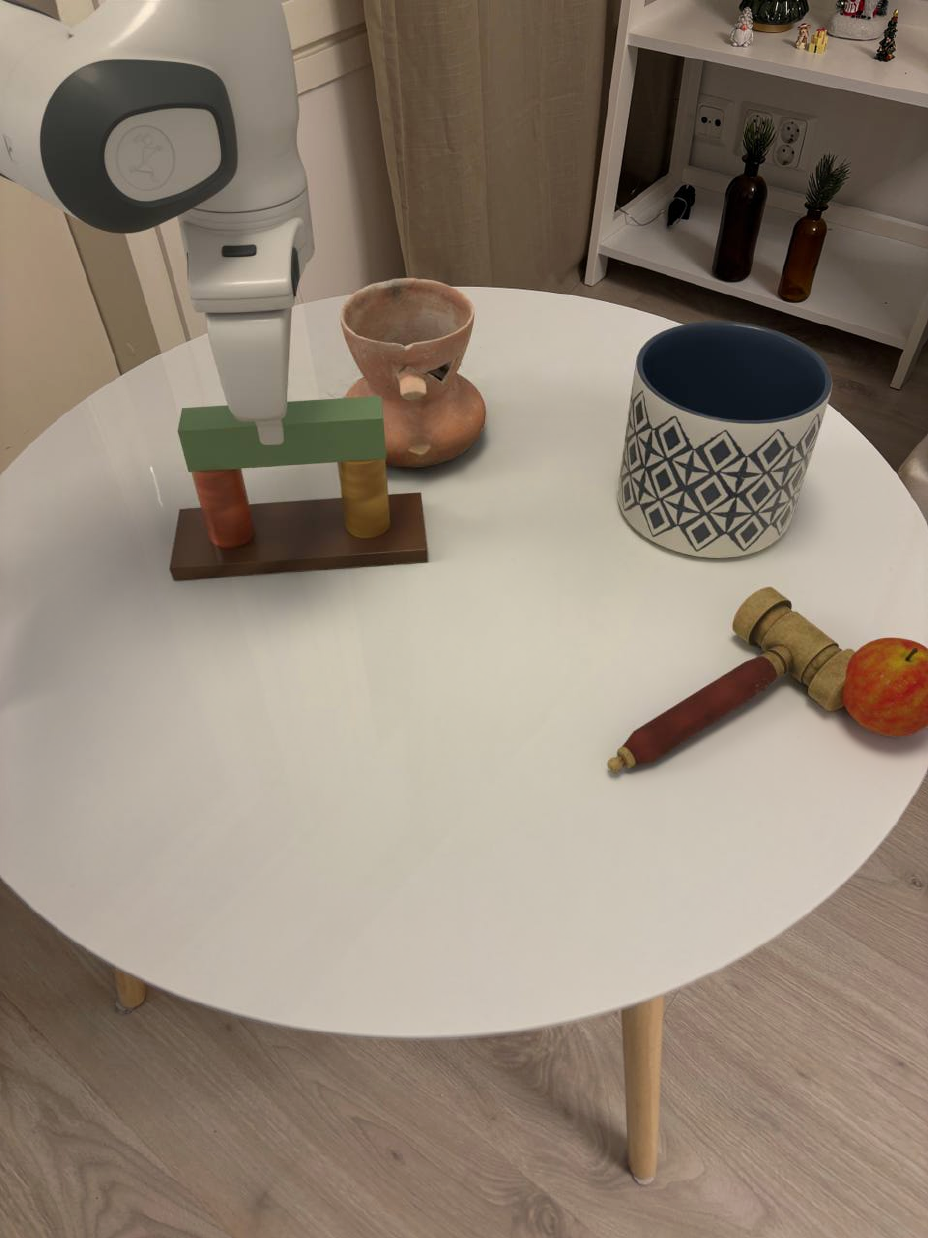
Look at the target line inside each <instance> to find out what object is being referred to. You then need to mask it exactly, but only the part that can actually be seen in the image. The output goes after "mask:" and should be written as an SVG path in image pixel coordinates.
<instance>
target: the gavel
mask: <svg viewBox="0 0 928 1238" xmlns="http://www.w3.org/2000/svg"><path fill="white" fill-rule="evenodd" d="M792 607H793V603H792V601H791V600H789V599H788V598H787V597H786V596H784V595H783V594H782V593H780V592H779V591H778V590H776V589H775V588H774V587H772V586H766V587H763V588H760V589H758V590H756V591H755V592H753V593H752V594H751V595H749V596H748V597H747V598H746V599H745V601H743V602H742V603H741V605H740V606H739V607H738V610H737V611H736V613H735V615H734V616H733V620H732V624H731V625H732V626H731V629H732V631H733V632H734V633H735V634H736V635H737V636H738V637H740V638H741V639H742V640H743V641H745V642H746V643H747V645H749V646H750V647H758V646H760V647H761V650H762V651H763V652H764V653H762V654H760V655H759V656H757V657H754V658H751V659H749V660H746V661H744V662H743V663H741V664H739V665H738V666H736V667H734V668H733V669H731V670H730V671H728V672H726V673H724V674H723V675H721V676H720V677H718V678H717V679H715V680H713V681H712V682H710V683H709V684H707V685H706V686H704V687H702V688H701V689H699V690H698V691H696V692H694V693H693V694H691V695H689V696H688V697H686V698H685V699H683V700H682V701H680V702H678V703H676V704H675V705H673V706H672V707H670V708H668V709H667V710H665V711H664V712H662V713H661V714H659V715H657V716H656V717H654V718H653V719H651V720H649V721H648V722H646V723H644V724H643V725H642V726H640V727H638V728H637V729H634V730H633V731H632V733H631V734H630V735H629V737H628V738H627V739H626V740H625V742H624V743H623V744H622V745H621V747H619V748H617V751H616V756H613V757H611V758H609V760H608V761H607V764H606V766H607V767H608V769H609V770H610V772H612V773H617V772H619V771H621V770H622V768H623V767H624V768H626V769H631V768H633V767H635V766H640V765H644V764H650V763H653V762H655V761H658V760H659V759H660V758H662V757H663V756H665V755H667V754H668V753H669V752H671V751H672V750H674V749H676V748H677V747H679V746H680V745H682V744H683V743H686V742H687V741H688V740H690V739H691V738H693V737H694V736H696V735H697V734H699V733H700V732H701V733H702V731H704V730H705V729H707V728H708V727H710V726H711V725H713V724H715V723H716V722H717V721H719V720H721V719H722V718H724V717H725V716H727V715H729V714H730V713H732V712H733V711H735V710H736V709H738V708H740V707H742V706H743V705H744V704H746V703H747V702H749V701H750V700H752V699H753V698H755V697H756V696H758V695H759V694H762V692H764V691H766V689H768V688H769V686H771V685H772V684H773V682H776V680H778V679H779V678H781V677H782V676H784V675H786V674H788V673H789V674H790V675H791V676H792V677H793V678H795V679H796V681H798V682H800V683H801V684H802V685H803V684H804V685H806V686H807V687H808V689H807V694H808V696H810V698H812V699H813V700H814V701H815V702H817V703H818V704H819V705H820V706H821V707H822V708H823V709H825V710H826V711H828V712H834V711H838V710H841V709H842V708H845V705H844V703H843V700H842V696H841V692H842V688H843V686H844V682H845V678H846V670H847V666H848V663H849V660H850V658H851V657H852V655H853V654H854V653H855V652H856V651H855V650H853V649H852V648H846V649H841V648H840V645H839V644H838V643H837V642H836V641H835V640H834V639H832V638H831V637H830V636H828V634H826V633H825V632H824V631H822V630H821V629H820V628H818V627H817V626H816V625H815V624H813V623H812V622H811V621H809V620H808V619H807V618H805V616H803V615H802V614H801V613H800V612H798V611H795V610H794V611H793V610H792V609H793V608H792Z"/></svg>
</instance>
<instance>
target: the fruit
mask: <svg viewBox="0 0 928 1238" xmlns="http://www.w3.org/2000/svg"><path fill="white" fill-rule="evenodd" d="M854 652H855V653H854V654H853V655H852V657H851V658H850V660H849V663H848V666H847V670H846V678H845V682H844V686H843V688H842V692H841V696H842V700H843V703H844V705H845V706H844V708H845V710H846V711H847V713H848V714H849V716H850V717H852V719H853V720H854V721H855V722H857V723H858V724H859V725H861V726H862V727H864V728H865V729H867V730H869V731H871V732H873V733H875V734H879V735H881V736H885V737H896V738H897V737H898V738H899V737H906V736H909V735H914V734H916V733H918V732H921V731H923V730H925V729H926V728H927V727H928V647H926V646H924V644H921V643H920V642H918V641H914V640H912V639H907V638H901V637H882V638H877V639H874V640H870V641H868V642H867V643H866V644H864V645H862V646H861V647H860V648H858V649H857V650H856V651H854Z"/></svg>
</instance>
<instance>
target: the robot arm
mask: <svg viewBox="0 0 928 1238" xmlns="http://www.w3.org/2000/svg"><path fill="white" fill-rule="evenodd" d="M295 69H296V68H295V62H294V55H293V48H292V43H291V39H290V33H289V28H288V24H287V19H286V15H285V11H284V6H283V4H282V0H104V1H103V3H101V4H100V5H99V6H98V7H97V8H96V9H94V10H93V12H91V13H90V15H88V16H86V18H84V19H83V20H81V21H80V22H78V23H77V24H75V25H73V26H72V25H71V24H68V23H65V22H63V21H60V20H59V19H57V18H56V17H53V16H52V15H50V14H48V13H46V12H44V11H42V10H40V9H38V8H37V7H34V6H33V5H30V4H29V3H28V4H27V3H25V2H24V1H23V2H22V1H19V0H0V177H1V178H3V179H6V180H8V181H10V182H13V183H15V184H17V185H19V186H21V187H23V188H24V189H26V190H27V191H29V192H31V193H32V194H34V195H36V196H37V197H39V198H41V200H43V201H45V202H47V203H48V204H50V205H51V206H54V207H55V208H56V209H58V210H60V211H61V212H63V213H65V214H67V215H69V216H70V217H72V218H74V219H75V220H77V221H79V222H82V223H83V224H84V225H88V226H90V227H92V228H94V229H96V230H100V231H103V232H107V233H112V234H119V235H120V234H121V235H123V234H125V235H126V234H128V235H129V234H135V233H136V234H137V233H140V232H141V233H142V232H145V231H147V230H151V229H152V228H155V227H157V226H160V225H162V224H164V223H166V222H168V221H170V220H173V219H174V218H177V221H178V226H179V231H180V236H181V241H182V245H183V247H182V248H183V250H184V256H185V259H186V264H187V266H186V267H187V268H186V269H187V271H186V272H187V273H186V275H187V285H188V286H187V287H188V294H189V298H190V302H191V306H192V309H193V311H194V312H196V313H198V314H199V313H203V314H204V321H205V327H206V332H207V336H208V341H209V345H210V349H211V352H212V357H213V360H214V364H215V367H216V370H217V374H218V378H219V380H220V385H221V389H222V391H223V394H224V398H225V401H226V405H228V407H229V409H230V411H231V413H232V414H233V416H234V417H235V418H236V419H237V420H238V421H241V422H255V423H256V425H257V428H258V433H259V439H260V442H261V443H262V444H264V445H279V444H282V443H283V442H284V430H285V429H284V423H283V418H284V417H285V416H286V412H287V402H288V391H289V390H288V388H289V372H290V371H289V370H290V369H289V368H290V350H291V334H292V333H291V332H292V331H291V330H292V311H293V307H294V306H295V302H296V297H297V293H298V286H299V283H300V280H301V278H302V275H303V274H304V272H305V269H306V267H307V264H308V263H309V262H310V261H311V260H312V258H313V257H314V254H315V250H316V249H315V238H314V229H313V220H312V212H311V204H310V203H311V202H310V201H311V200H310V194H309V184H308V177H307V171H306V169H305V167H304V164H303V161H302V159H301V156H300V152H299V147H298V128H299V127H298V126H299V122H300V121H299V120H300V103H299V92H298V84H297V76H296V70H295Z"/></svg>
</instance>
